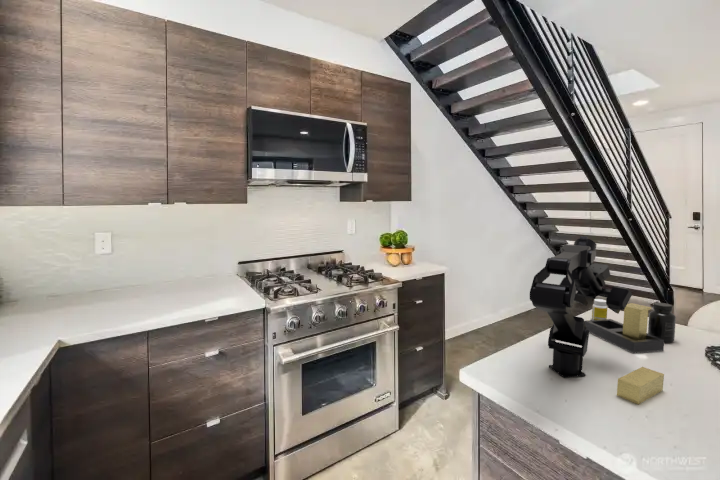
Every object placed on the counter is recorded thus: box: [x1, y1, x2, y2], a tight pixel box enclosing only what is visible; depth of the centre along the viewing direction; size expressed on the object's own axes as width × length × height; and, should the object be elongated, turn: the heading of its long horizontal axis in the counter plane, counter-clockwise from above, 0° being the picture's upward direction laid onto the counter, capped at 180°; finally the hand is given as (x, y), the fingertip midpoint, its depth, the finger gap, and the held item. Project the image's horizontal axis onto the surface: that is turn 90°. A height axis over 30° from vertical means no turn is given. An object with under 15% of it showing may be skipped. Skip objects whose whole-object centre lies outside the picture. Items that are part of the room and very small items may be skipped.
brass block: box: [622, 302, 652, 341], centre depth 114 cm, size 6×6×12 cm
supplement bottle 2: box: [647, 302, 677, 344], centre depth 119 cm, size 7×7×12 cm
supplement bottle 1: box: [591, 298, 608, 320], centre depth 137 cm, size 5×5×8 cm
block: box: [616, 366, 665, 405], centre depth 87 cm, size 12×4×4 cm, turn 119°
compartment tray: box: [584, 318, 665, 354], centre depth 120 cm, size 10×20×4 cm, turn 8°
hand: (602, 308), depth 110 cm, fingers open, 9 cm apart
